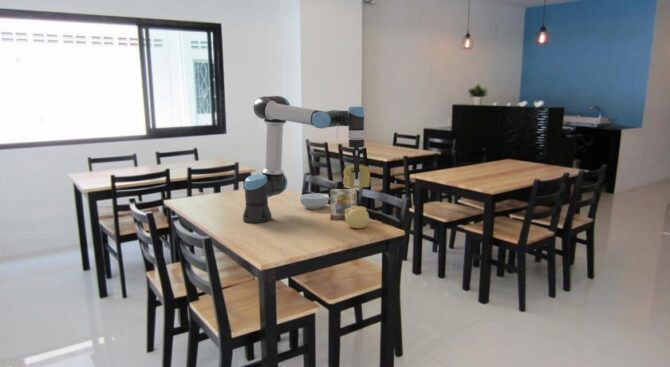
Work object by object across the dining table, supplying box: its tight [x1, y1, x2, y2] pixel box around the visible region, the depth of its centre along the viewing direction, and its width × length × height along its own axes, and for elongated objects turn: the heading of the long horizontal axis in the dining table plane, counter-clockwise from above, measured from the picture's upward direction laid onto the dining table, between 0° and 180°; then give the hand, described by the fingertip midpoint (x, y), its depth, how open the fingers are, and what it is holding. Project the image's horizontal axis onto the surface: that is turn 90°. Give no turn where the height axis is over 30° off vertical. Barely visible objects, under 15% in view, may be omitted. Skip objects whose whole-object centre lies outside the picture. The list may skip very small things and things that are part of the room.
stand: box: [329, 188, 358, 221], centre depth 246 cm, size 14×6×16 cm, turn 88°
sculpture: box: [345, 205, 370, 229], centre depth 231 cm, size 12×12×11 cm
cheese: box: [342, 163, 371, 189], centre depth 227 cm, size 10×11×10 cm
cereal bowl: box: [299, 192, 330, 210], centre depth 271 cm, size 17×17×7 cm
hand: (356, 183), depth 227 cm, fingers closed on cheese, 12 cm apart
